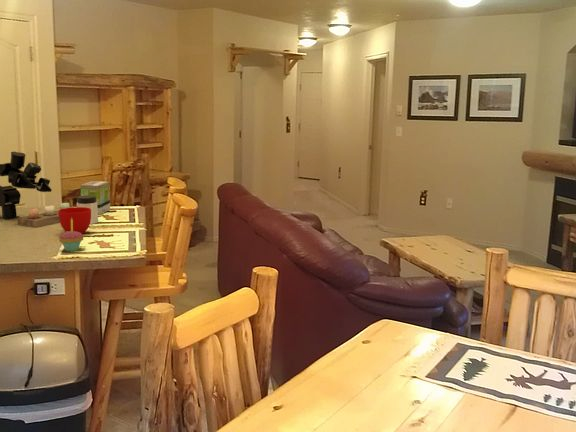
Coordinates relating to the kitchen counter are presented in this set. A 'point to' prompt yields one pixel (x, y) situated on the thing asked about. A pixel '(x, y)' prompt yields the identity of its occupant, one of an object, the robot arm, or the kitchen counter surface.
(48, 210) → the cream button
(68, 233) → the cupcake
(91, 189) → the tea box
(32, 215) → the terracotta button
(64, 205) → the green button
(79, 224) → the ceramic cup
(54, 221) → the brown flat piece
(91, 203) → the jar
